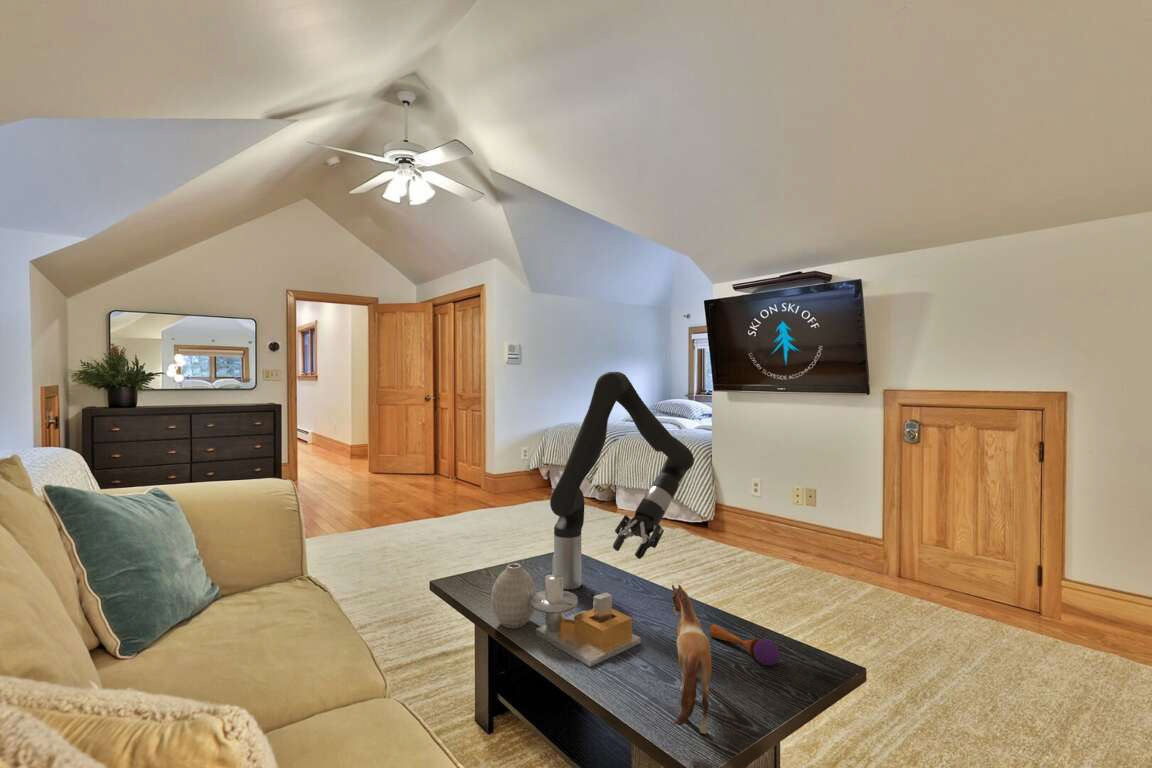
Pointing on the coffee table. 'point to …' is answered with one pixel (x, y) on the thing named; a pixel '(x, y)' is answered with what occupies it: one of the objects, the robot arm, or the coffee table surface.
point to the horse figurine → (691, 657)
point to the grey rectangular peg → (602, 607)
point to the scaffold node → (580, 626)
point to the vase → (513, 597)
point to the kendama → (750, 645)
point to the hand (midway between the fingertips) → (626, 553)
